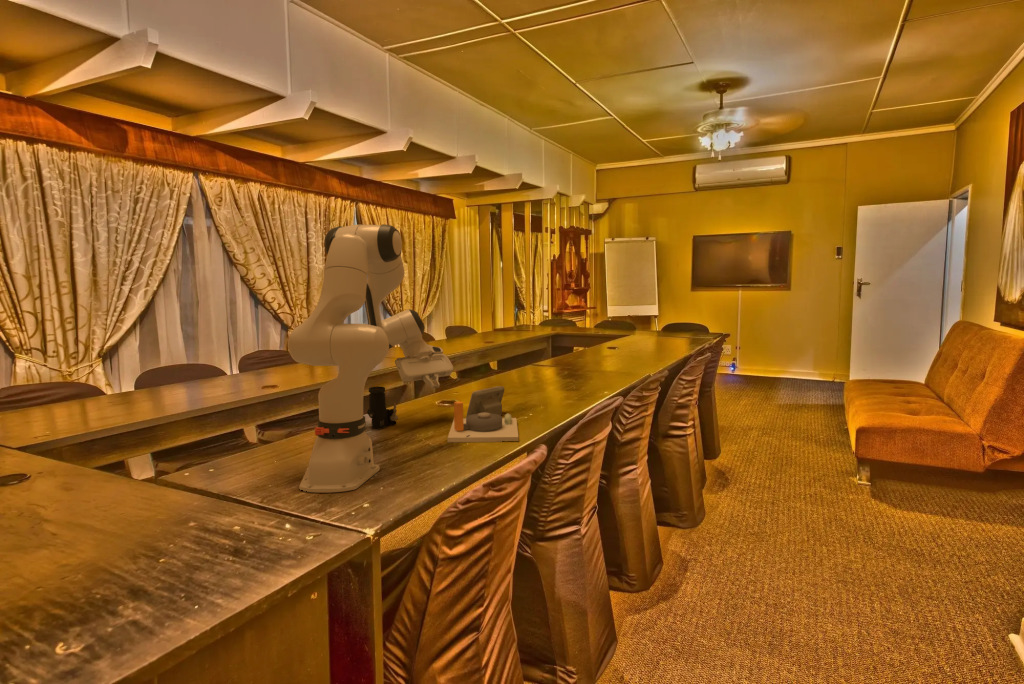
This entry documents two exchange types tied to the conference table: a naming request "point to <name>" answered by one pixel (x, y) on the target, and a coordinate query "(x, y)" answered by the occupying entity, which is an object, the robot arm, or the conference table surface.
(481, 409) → the digital clock
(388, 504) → the conference table surface
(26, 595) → the conference table surface
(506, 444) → the conference table surface
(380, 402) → the scope
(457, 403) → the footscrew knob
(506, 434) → the base
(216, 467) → the conference table surface
